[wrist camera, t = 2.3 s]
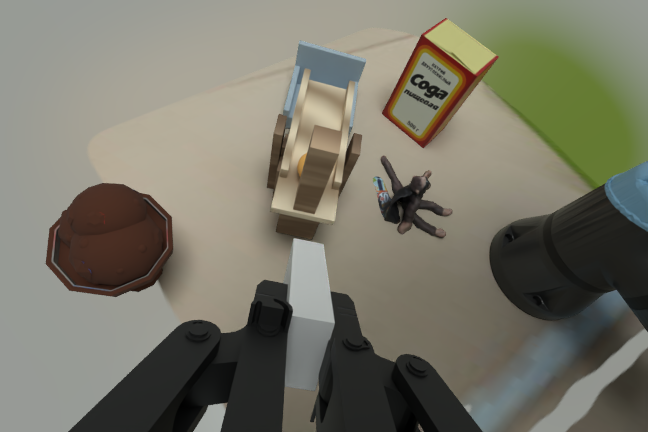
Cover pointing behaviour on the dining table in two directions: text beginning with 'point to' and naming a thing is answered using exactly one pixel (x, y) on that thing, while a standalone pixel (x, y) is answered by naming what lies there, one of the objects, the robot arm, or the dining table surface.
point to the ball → (301, 164)
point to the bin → (323, 73)
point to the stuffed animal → (407, 201)
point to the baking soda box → (437, 81)
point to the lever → (315, 152)
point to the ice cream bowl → (110, 241)
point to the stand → (285, 222)
